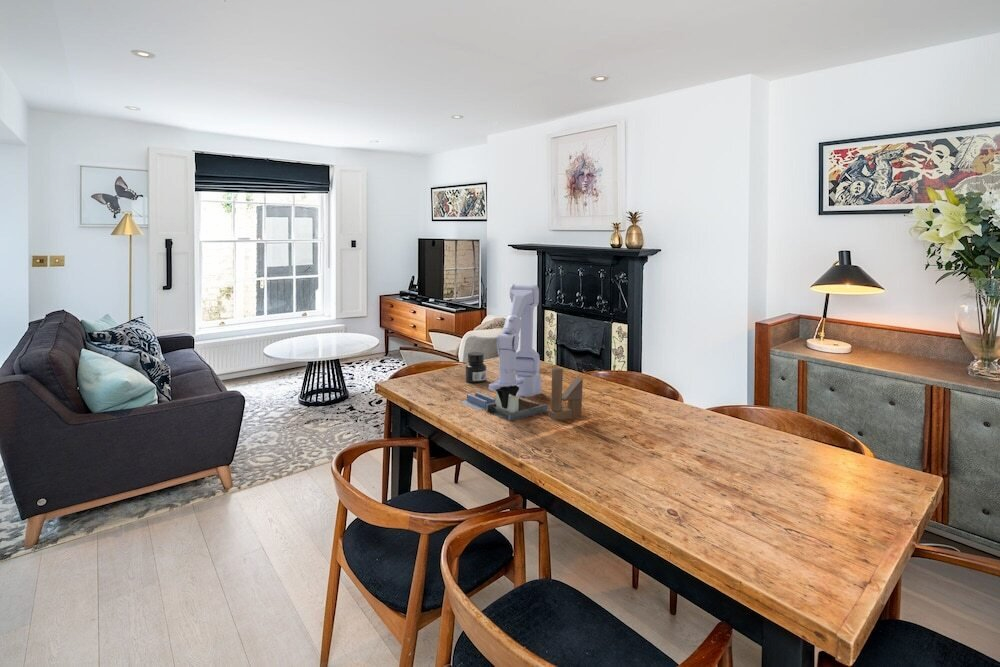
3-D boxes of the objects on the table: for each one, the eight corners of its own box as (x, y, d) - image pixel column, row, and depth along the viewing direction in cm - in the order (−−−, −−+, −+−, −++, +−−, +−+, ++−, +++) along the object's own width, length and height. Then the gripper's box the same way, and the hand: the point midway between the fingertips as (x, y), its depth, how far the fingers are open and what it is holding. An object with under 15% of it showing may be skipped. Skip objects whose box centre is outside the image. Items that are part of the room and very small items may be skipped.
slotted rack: (523, 405, 195) (523, 395, 195) (547, 414, 185) (547, 404, 185) (486, 414, 185) (486, 404, 184) (510, 424, 175) (510, 414, 174)
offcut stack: (523, 404, 192) (524, 394, 191) (538, 410, 186) (539, 400, 185) (514, 407, 189) (514, 397, 189) (529, 413, 183) (529, 402, 183)
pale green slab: (499, 409, 186) (499, 390, 185) (518, 417, 179) (518, 397, 178) (496, 410, 185) (496, 391, 184) (514, 418, 178) (514, 398, 177)
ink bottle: (476, 385, 221) (476, 357, 219) (460, 381, 227) (460, 354, 224) (491, 380, 229) (491, 353, 227) (475, 377, 234) (475, 350, 232)
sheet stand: (481, 399, 202) (482, 390, 201) (501, 407, 192) (501, 398, 192) (460, 404, 195) (460, 395, 195) (479, 412, 186) (479, 403, 186)
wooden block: (581, 419, 181) (583, 367, 177) (553, 423, 177) (554, 370, 173) (576, 415, 184) (577, 365, 181) (548, 419, 180) (549, 367, 177)
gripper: (498, 374, 172) (497, 414, 174) (531, 367, 181) (530, 406, 183) (484, 370, 177) (484, 409, 180) (517, 363, 186) (517, 401, 189)
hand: (507, 407), depth 182 cm, fingers closed on pale green slab, 2 cm apart
